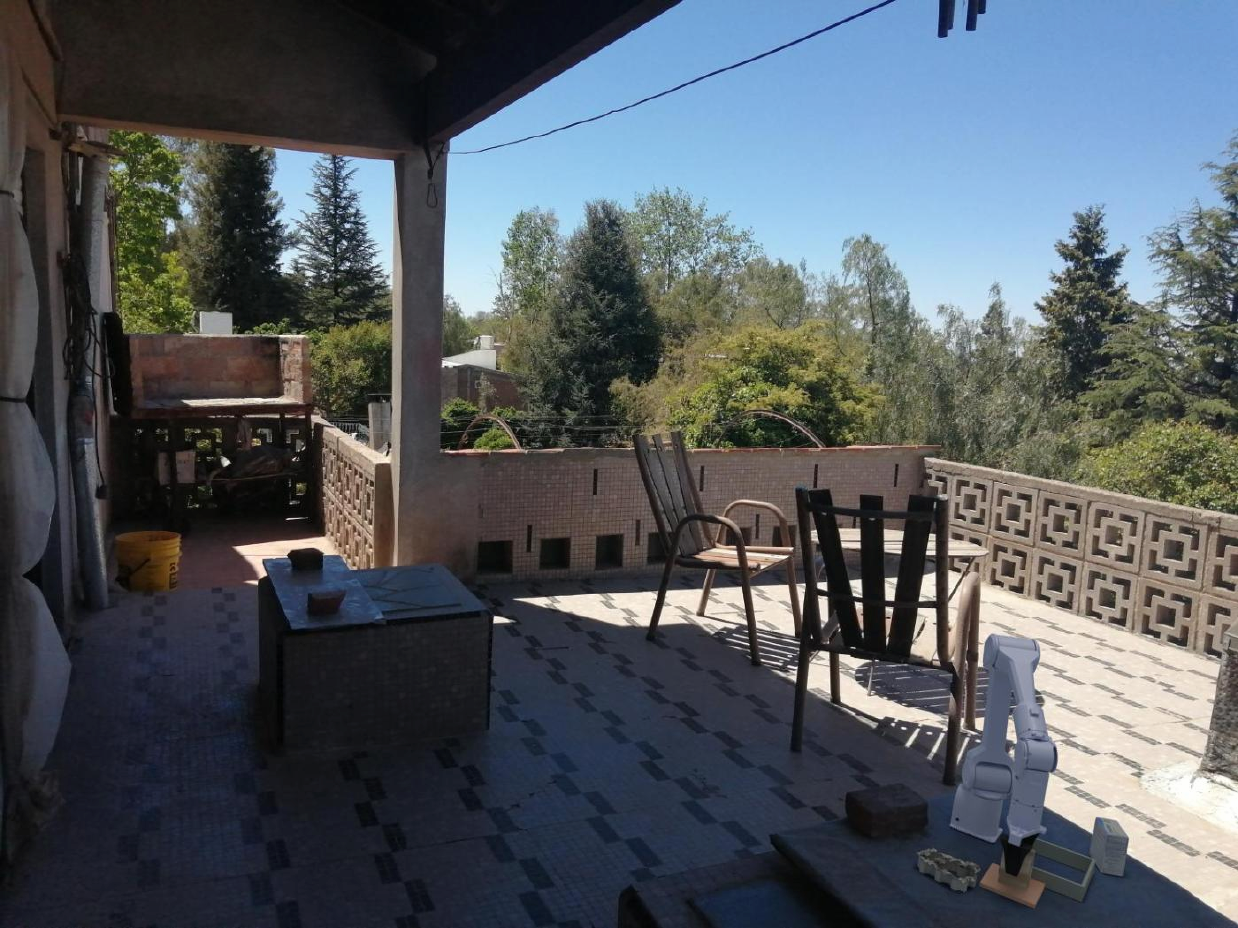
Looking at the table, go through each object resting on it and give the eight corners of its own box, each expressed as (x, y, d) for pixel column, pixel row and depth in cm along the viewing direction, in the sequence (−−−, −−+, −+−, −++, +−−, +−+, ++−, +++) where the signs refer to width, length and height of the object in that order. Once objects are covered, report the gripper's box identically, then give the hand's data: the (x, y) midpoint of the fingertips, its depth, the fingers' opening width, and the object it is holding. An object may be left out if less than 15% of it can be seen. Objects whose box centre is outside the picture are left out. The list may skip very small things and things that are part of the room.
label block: (1024, 892, 176) (1031, 858, 175) (996, 881, 179) (1002, 847, 178) (1029, 884, 179) (1035, 850, 179) (1001, 873, 182) (1007, 839, 182)
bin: (1009, 873, 184) (1012, 859, 184) (1025, 847, 196) (1027, 834, 195) (1081, 901, 177) (1084, 887, 176) (1093, 873, 188) (1095, 859, 188)
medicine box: (1123, 877, 188) (1130, 837, 187) (1099, 872, 189) (1107, 833, 188) (1110, 858, 196) (1117, 819, 195) (1088, 853, 197) (1095, 815, 196)
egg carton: (980, 886, 178) (984, 867, 178) (958, 896, 174) (962, 876, 173) (933, 859, 187) (936, 840, 186) (910, 867, 182) (914, 848, 182)
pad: (979, 885, 178) (979, 882, 178) (992, 866, 186) (992, 862, 186) (1034, 908, 172) (1035, 904, 172) (1045, 887, 181) (1045, 883, 180)
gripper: (1042, 820, 169) (1029, 889, 171) (1057, 795, 181) (1045, 860, 182) (1002, 806, 173) (990, 874, 175) (1019, 782, 185) (1008, 846, 186)
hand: (1015, 866), depth 179 cm, fingers open, 7 cm apart
